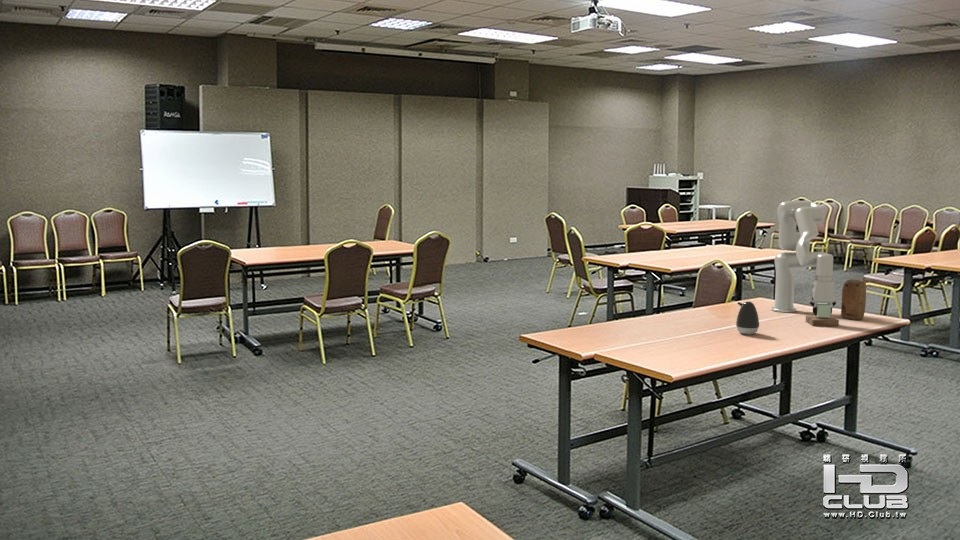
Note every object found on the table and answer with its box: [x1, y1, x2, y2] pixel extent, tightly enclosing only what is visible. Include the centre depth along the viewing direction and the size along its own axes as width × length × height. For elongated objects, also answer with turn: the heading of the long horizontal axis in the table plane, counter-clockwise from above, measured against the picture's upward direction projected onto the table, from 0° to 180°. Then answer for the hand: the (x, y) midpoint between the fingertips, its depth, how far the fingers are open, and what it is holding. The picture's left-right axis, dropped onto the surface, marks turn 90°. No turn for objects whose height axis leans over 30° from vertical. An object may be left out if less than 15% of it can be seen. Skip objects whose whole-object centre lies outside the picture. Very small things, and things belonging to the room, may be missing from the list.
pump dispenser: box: [735, 301, 760, 336], centre depth 370 cm, size 10×10×15 cm
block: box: [840, 279, 867, 321], centre depth 406 cm, size 11×8×20 cm
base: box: [805, 315, 840, 328], centre depth 393 cm, size 12×12×3 cm
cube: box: [814, 302, 832, 317], centre depth 393 cm, size 6×6×6 cm
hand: (822, 314), depth 393 cm, fingers closed on cube, 6 cm apart
